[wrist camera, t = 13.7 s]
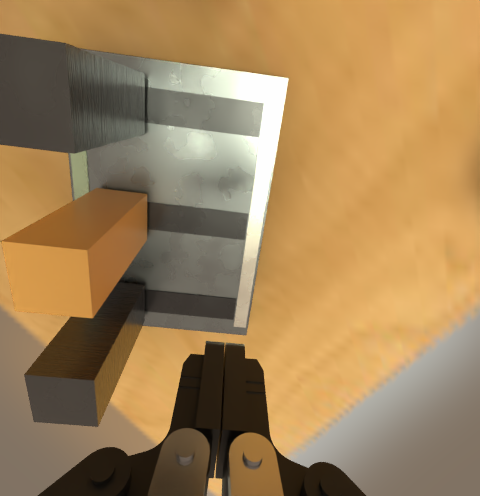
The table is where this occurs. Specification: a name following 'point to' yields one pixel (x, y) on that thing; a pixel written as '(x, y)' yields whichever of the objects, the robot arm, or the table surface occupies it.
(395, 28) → the table surface
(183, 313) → the panel
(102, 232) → the handle
